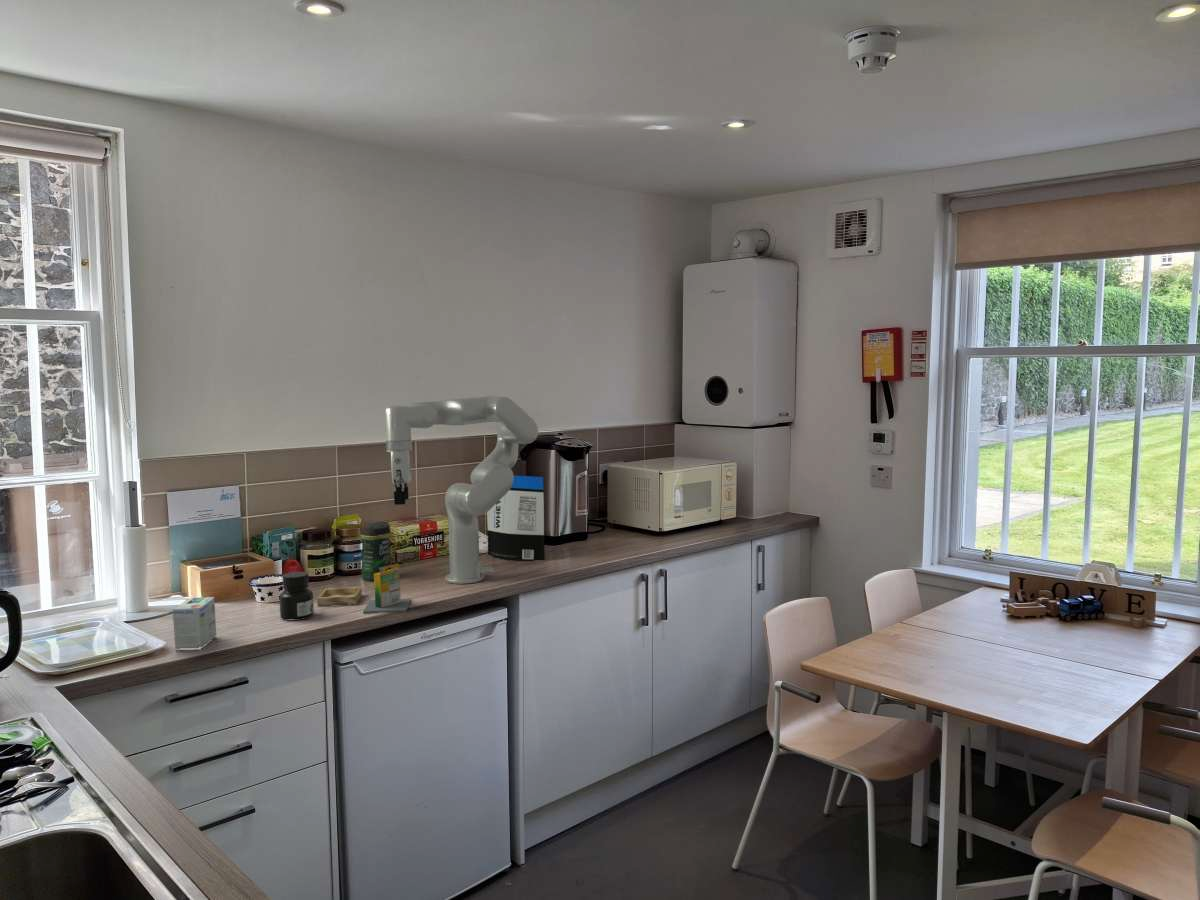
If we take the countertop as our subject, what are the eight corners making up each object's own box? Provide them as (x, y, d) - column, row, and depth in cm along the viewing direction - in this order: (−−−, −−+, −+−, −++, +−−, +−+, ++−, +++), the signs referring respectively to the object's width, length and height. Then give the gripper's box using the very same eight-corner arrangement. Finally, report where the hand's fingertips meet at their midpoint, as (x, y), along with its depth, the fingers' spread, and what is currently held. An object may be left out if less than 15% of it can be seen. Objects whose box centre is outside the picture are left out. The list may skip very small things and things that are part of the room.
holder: (361, 595, 263) (361, 587, 263) (356, 604, 252) (355, 596, 252) (325, 596, 262) (324, 588, 261) (317, 606, 251) (317, 598, 251)
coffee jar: (375, 582, 278) (373, 526, 276) (357, 580, 282) (355, 524, 280) (396, 576, 287) (394, 521, 285) (378, 573, 290) (376, 519, 289)
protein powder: (537, 563, 303) (536, 478, 300) (480, 557, 313) (478, 475, 311) (551, 558, 311) (549, 475, 308) (495, 552, 322) (493, 472, 319)
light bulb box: (190, 638, 223) (188, 597, 222) (217, 637, 224) (215, 596, 223) (174, 651, 212) (171, 608, 211) (202, 650, 213) (199, 607, 212)
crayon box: (394, 600, 254) (392, 562, 252) (401, 602, 252) (399, 563, 251) (374, 606, 248) (373, 567, 247) (381, 608, 246) (380, 568, 245)
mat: (410, 600, 256) (410, 598, 256) (406, 611, 244) (406, 609, 244) (369, 602, 255) (369, 600, 255) (363, 613, 243) (363, 611, 243)
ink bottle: (306, 621, 236) (304, 578, 235) (274, 621, 236) (272, 579, 235) (319, 611, 246) (317, 570, 245) (288, 611, 246) (286, 570, 245)
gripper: (408, 448, 254) (411, 505, 256) (414, 443, 271) (416, 497, 273) (382, 449, 253) (385, 507, 255) (389, 444, 270) (392, 498, 272)
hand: (401, 501), depth 264 cm, fingers open, 9 cm apart
